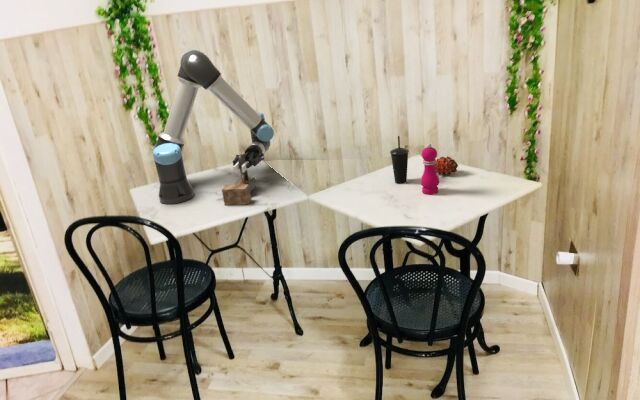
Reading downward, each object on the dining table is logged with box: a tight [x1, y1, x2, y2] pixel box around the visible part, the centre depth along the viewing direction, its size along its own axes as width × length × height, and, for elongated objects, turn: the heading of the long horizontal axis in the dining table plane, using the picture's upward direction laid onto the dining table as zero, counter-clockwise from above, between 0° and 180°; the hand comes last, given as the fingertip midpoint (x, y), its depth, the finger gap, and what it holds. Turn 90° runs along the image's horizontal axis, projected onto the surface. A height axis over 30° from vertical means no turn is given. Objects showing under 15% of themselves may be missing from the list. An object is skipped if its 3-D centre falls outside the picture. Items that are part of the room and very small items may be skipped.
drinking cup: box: [389, 135, 410, 185], centre depth 217 cm, size 8×8×20 cm
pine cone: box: [435, 156, 459, 177], centre depth 223 cm, size 8×8×12 cm
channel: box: [234, 176, 257, 197], centre depth 228 cm, size 7×10×5 cm
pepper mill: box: [420, 143, 440, 196], centre depth 204 cm, size 7×7×20 cm
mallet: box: [236, 153, 252, 185], centre depth 222 cm, size 4×15×15 cm, turn 170°
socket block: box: [221, 184, 252, 206], centre depth 218 cm, size 10×5×7 cm, turn 80°
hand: (238, 169), depth 221 cm, fingers closed on mallet, 3 cm apart
